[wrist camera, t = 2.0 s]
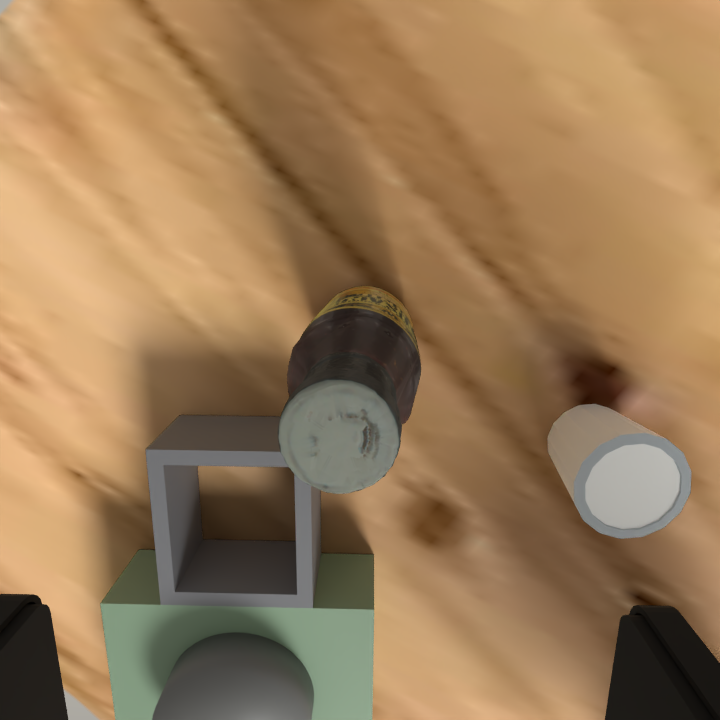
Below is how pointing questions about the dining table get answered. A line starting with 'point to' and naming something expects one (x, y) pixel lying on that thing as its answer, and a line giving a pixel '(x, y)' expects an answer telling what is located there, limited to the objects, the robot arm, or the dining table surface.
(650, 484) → the shot glass
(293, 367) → the sauce bottle
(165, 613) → the grey and green blocks
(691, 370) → the dining table surface
